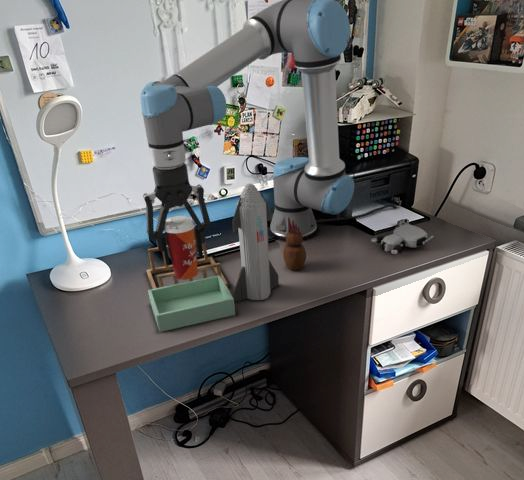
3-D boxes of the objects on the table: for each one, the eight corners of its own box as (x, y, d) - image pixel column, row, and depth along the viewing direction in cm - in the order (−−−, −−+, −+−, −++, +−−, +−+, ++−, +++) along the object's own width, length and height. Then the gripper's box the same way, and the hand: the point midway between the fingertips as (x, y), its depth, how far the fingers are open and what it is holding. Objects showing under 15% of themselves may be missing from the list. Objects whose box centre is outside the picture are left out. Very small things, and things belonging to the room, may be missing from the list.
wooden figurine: (280, 265, 155) (278, 217, 146) (297, 260, 157) (296, 212, 148) (292, 275, 150) (290, 225, 141) (309, 269, 152) (309, 220, 143)
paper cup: (196, 282, 128) (188, 228, 119) (166, 280, 129) (156, 227, 121) (205, 267, 134) (198, 214, 125) (176, 266, 135) (168, 214, 127)
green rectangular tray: (221, 290, 145) (219, 274, 142) (235, 314, 135) (233, 298, 132) (151, 305, 141) (147, 289, 138) (159, 332, 130) (156, 315, 127)
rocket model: (271, 280, 148) (266, 173, 130) (286, 290, 143) (282, 181, 125) (228, 296, 142) (216, 187, 124) (242, 307, 137) (232, 195, 119)
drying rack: (212, 260, 160) (209, 237, 156) (228, 287, 146) (225, 262, 142) (147, 273, 156) (142, 249, 151) (157, 302, 142) (152, 277, 137)
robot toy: (394, 263, 154) (434, 247, 158) (395, 249, 151) (435, 233, 156) (368, 248, 163) (407, 233, 167) (368, 234, 160) (407, 219, 164)
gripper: (124, 177, 110) (144, 273, 124) (218, 162, 115) (228, 257, 128) (120, 166, 116) (140, 260, 129) (210, 153, 121) (220, 244, 134)
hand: (184, 258), depth 129 cm, fingers closed on paper cup, 8 cm apart
